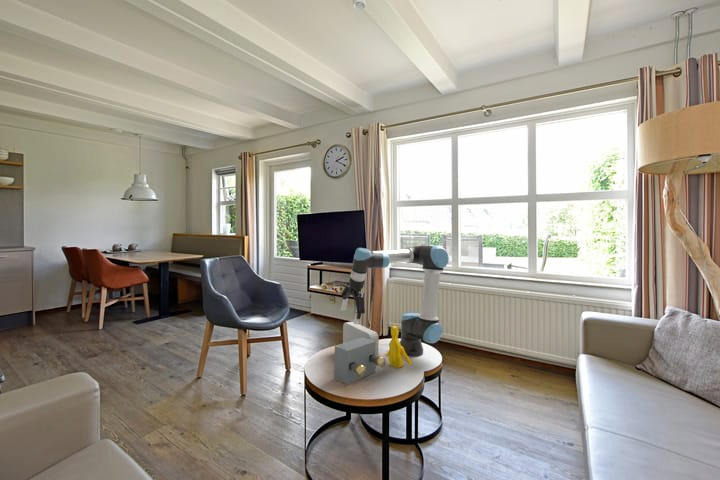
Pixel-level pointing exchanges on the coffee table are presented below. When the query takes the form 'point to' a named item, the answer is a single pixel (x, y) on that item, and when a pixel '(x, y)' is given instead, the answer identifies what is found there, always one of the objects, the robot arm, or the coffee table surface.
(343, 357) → the knob housing
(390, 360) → the figure statuette
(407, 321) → the robot arm
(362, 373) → the knob
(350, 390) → the coffee table surface
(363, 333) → the rounded white slab
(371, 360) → the knob
